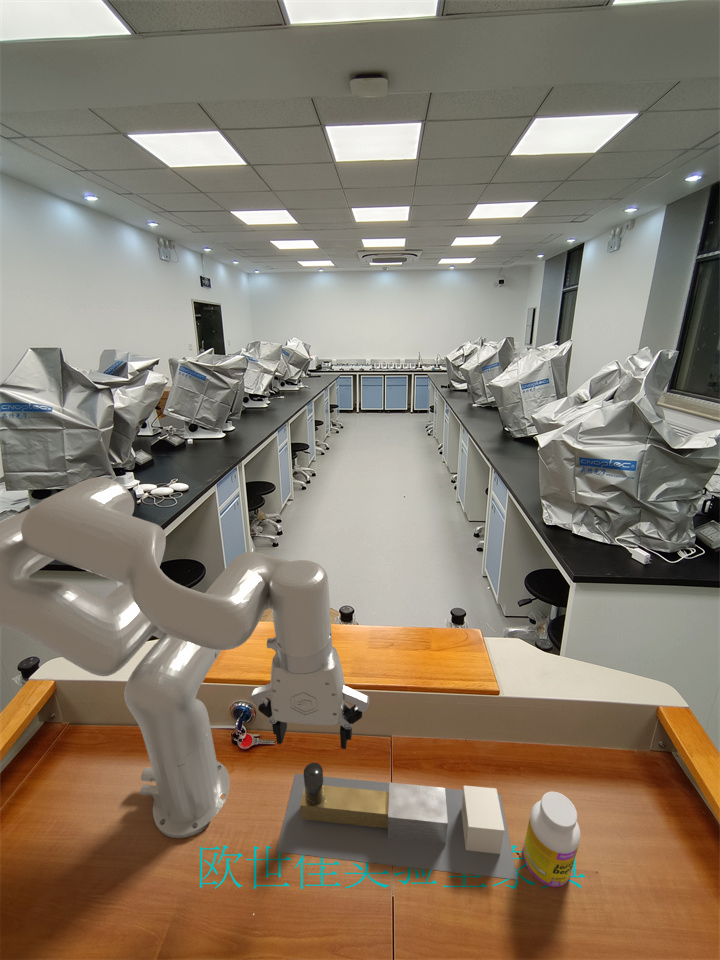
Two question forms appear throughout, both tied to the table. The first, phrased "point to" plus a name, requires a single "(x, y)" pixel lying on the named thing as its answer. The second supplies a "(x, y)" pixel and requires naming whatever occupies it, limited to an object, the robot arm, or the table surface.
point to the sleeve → (417, 813)
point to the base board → (380, 849)
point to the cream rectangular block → (482, 819)
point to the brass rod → (341, 802)
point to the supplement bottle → (552, 839)
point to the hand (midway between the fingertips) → (313, 737)
